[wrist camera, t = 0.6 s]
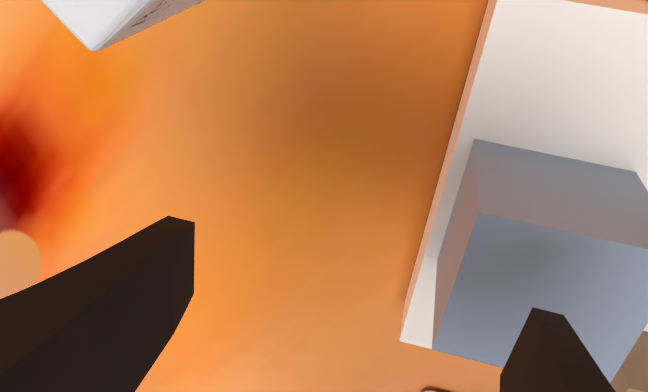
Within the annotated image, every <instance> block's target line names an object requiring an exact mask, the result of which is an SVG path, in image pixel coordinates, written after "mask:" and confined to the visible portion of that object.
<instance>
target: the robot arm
mask: <svg viewBox="0 0 648 392" xmlns="http://www.w3.org/2000/svg"><path fill="white" fill-rule="evenodd" d="M194 231H195V222H191V221H187V220H183V219H179V218H175V217H171V216H167V217H165V218H163V219H161V220H159V221H157V222H155V223H154V224H152V225H150V226H148V227H146V228H145V229H143V230H141V231H139V232H137V233H136V234H134V235H132V236H130V237H128V238H126V239H125V240H123V241H121V242H119V243H117V244H115V245H114V246H112V247H110V248H108V249H106V250H104V251H102V252H101V253H99V254H97V255H95V256H93V257H91V258H89V259H87V260H85V261H83V262H81V263H79V264H77V265H75V266H73V267H71V268H69V269H67V270H65V271H63V272H61V273H59V274H56V275H54V276H52V277H50V278H48V279H46V280H44V281H42V282H40V283H38V284H35V285H33V286H31V287H29V288H26V289H24V290H22V291H19V292H17V293H14V294H12V295H10V296H7V297H5V298H2V299H0V392H135V390H136V389H137V387H138V386H139V385H140V383H141V382H142V380H143V379H144V377H145V376H146V374H147V373H148V371H149V370H150V368H151V367H152V365H153V364H154V362H155V361H156V359H157V358H158V356H159V355H160V353H161V352H162V350H163V349H164V347H165V346H166V344H167V343H168V341H169V340H170V338H171V337H172V335H173V334H174V332H175V330H176V328H177V326H178V324H179V322H180V320H181V318H182V316H183V314H184V312H185V310H186V308H187V306H188V304H189V302H190V300H191V298H192V296H193V294H194ZM425 392H436V391H431V390H428V391H425ZM500 392H616V391H615V390H614V389H613V387H612V386H611V384H610V383H609V381H608V380H607V378H606V377H605V376H604V374H603V373H602V371H601V370H600V368H599V367H598V365H597V364H596V362H595V361H594V359H593V358H592V356H591V355H590V353H589V352H588V350H587V349H586V347H585V346H584V344H583V343H582V341H581V340H580V338H579V337H578V335H577V334H576V332H575V331H574V329H573V328H572V326H571V325H570V323H569V322H568V320H567V319H566V318H565V316H564V315H562V314H558V313H554V312H550V311H546V310H542V309H538V308H534V307H532V309H531V311H530V314H529V316H528V318H527V320H526V322H525V324H524V326H523V328H522V330H521V333H520V335H519V337H518V339H517V341H516V343H515V345H514V347H513V350H512V352H511V354H510V356H509V358H508V360H507V362H506V364H505V366H504V369H503V371H502V373H501V375H500Z"/></svg>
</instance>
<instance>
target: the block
mask: <svg viewBox="0 0 648 392" xmlns="http://www.w3.org/2000/svg"><path fill="white" fill-rule="evenodd" d="M532 307H534V308H538V309H542V310H546V311H550V312H554V313H558V314H562V315H564V316H565V318H566V319H567V320H568V322H569V323H570V325H571V326H572V328H573V329H574V331H575V332H576V334H577V335H578V337H579V338H580V340H581V341H582V343H583V344H584V346H585V347H586V349H587V350H588V352H589V353H590V355H591V356H592V358H593V359H594V361H595V362H596V364H597V365H598V367H599V368H600V370H601V371H602V373H603V374H604V376H605V377H606V378H607V380H608V381H609V383H611V381H612V380H613V378H614V376H615V375H616V373H617V372H618V370H619V368H620V367H621V365H622V364H623V362H624V360H625V359H626V357H627V356H628V354H629V352H630V351H631V349H632V347H633V346H634V344H635V343H636V341H637V339H638V338H639V336H640V335H641V333H642V331H643V330H644V328H645V327H646V325H647V323H648V191H647V189H646V188H645V186H644V185H643V183H642V181H641V180H640V178H639V176H638V175H637V173H636V172H634V171H630V170H625V169H620V168H615V167H610V166H605V165H600V164H595V163H590V162H586V161H581V160H576V159H571V158H566V157H561V156H556V155H551V154H547V153H542V152H537V151H532V150H527V149H522V148H517V147H512V146H507V145H503V144H498V143H493V142H488V141H483V140H478V139H474V140H473V144H472V147H471V150H470V154H469V157H468V160H467V163H466V167H465V170H464V173H463V176H462V180H461V183H460V186H459V190H458V193H457V196H456V199H455V203H454V206H453V209H452V213H451V216H450V219H449V222H448V226H447V229H446V232H445V236H444V239H443V242H442V245H441V249H440V252H439V255H438V258H437V270H436V287H435V304H434V321H433V338H432V350H435V351H439V352H443V353H447V354H451V355H455V356H459V357H463V358H467V359H471V360H475V361H479V362H483V363H487V364H490V365H494V366H498V367H502V368H504V366H505V364H506V362H507V360H508V358H509V356H510V354H511V352H512V350H513V347H514V345H515V343H516V341H517V339H518V337H519V335H520V333H521V330H522V328H523V326H524V324H525V322H526V320H527V318H528V316H529V314H530V311H531V309H532Z"/></svg>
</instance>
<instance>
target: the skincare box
mask: <svg viewBox="0 0 648 392" xmlns="http://www.w3.org/2000/svg"><path fill="white" fill-rule="evenodd" d="M42 1H43V3H44V4H45V5H46V6H47V7H48V8H49V9H50V10H51V11H52V12H53V13H54V14H55V15H56V16H57V17H58V18H59V19H60V21H61V22H62V23H63V24H64V25H65V26H66V27H67V28H68V29H69V30H70V31H71V32H72V33H73V34H74V35H75V36H76V37H77V38H78V39H79V40H80V41H81V42H82V43H83V44H84V45H85V46H86V47H87V48H88V49H89V50H91V51H100V50H102V49H104V48H106V47H108V46H110V45H112V44H114V43H116V42H118V41H120V40H123V39H125V38H127V37H129V36H131V35H134V34H136V33H138V32H140V31H142V30H144V29H146V28H148V27H150V26H152V25H154V24H157V23H159V22H161V21H163V20H165V19H167V18H169V17H171V16H173V15H175V14H177V13H180V12H182V11H184V10H185V9H188V8H190V7H192V6H194V5H196V4H198V3H200V2H202V1H204V0H42Z"/></svg>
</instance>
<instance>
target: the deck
mask: <svg viewBox="0 0 648 392" xmlns="http://www.w3.org/2000/svg"><path fill="white" fill-rule="evenodd" d="M474 139H478V140H483V141H488V142H493V143H498V144H503V145H507V146H512V147H517V148H522V149H527V150H532V151H537V152H542V153H547V154H551V155H556V156H561V157H566V158H571V159H576V160H581V161H586V162H590V163H595V164H600V165H605V166H610V167H615V168H620V169H625V170H630V171H634V172H636V173H637V175H638V176H639V178H640V180H641V181H642V183H643V185H644V186H645V188H646V189H647V191H648V1H642V0H488V4H487V7H486V11H485V15H484V18H483V22H482V25H481V29H480V32H479V36H478V40H477V43H476V47H475V50H474V54H473V58H472V61H471V65H470V68H469V72H468V76H467V79H466V83H465V86H464V90H463V94H462V97H461V101H460V104H459V108H458V112H457V115H456V119H455V122H454V126H453V129H452V133H451V137H450V140H449V144H448V147H447V151H446V155H445V158H444V162H443V165H442V169H441V173H440V176H439V180H438V183H437V187H436V191H435V194H434V198H433V201H432V205H431V209H430V212H429V216H428V219H427V223H426V227H425V230H424V234H423V237H422V241H421V244H420V248H419V252H418V255H417V259H416V262H415V266H414V270H413V273H412V277H411V280H410V284H409V288H408V291H407V295H406V298H405V303H404V311H403V318H402V326H401V334H400V341H401V342H405V343H409V344H413V345H417V346H421V347H425V348H429V349H432V338H433V321H434V304H435V287H436V270H437V258H438V255H439V252H440V249H441V245H442V242H443V239H444V236H445V232H446V229H447V226H448V222H449V219H450V216H451V213H452V209H453V206H454V203H455V199H456V196H457V193H458V190H459V186H460V183H461V180H462V176H463V173H464V170H465V167H466V163H467V160H468V157H469V154H470V150H471V147H472V144H473V140H474ZM610 384H611V386H612V387H613V389H614V390H615V391H616V392H648V323H647V325H646V327H645V328H644V330H643V331H642V333H641V335H640V336H639V338H638V339H637V341H636V343H635V344H634V346H633V347H632V349H631V351H630V352H629V354H628V356H627V357H626V359H625V360H624V362H623V364H622V365H621V367H620V368H619V370H618V372H617V373H616V375H615V376H614V378H613V380H612V381H611V383H610Z"/></svg>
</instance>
